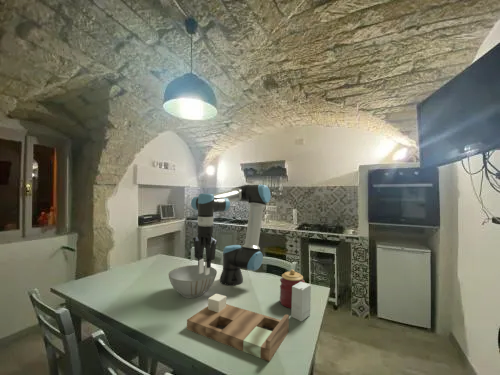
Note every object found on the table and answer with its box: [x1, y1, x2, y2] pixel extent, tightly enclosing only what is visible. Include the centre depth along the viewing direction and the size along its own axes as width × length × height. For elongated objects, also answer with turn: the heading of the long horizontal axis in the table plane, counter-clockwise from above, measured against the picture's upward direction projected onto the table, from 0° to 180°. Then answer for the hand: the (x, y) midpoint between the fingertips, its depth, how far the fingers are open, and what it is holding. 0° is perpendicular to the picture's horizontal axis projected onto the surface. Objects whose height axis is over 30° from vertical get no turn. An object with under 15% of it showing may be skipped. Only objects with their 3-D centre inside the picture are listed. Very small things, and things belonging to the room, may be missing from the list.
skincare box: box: [290, 282, 312, 322], centre depth 111 cm, size 8×6×15 cm
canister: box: [279, 269, 306, 309], centre depth 125 cm, size 13×13×18 cm
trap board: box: [186, 303, 290, 362], centre depth 99 cm, size 38×20×7 cm, turn 62°
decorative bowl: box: [168, 264, 218, 299], centre depth 134 cm, size 27×27×12 cm
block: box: [207, 293, 227, 313], centre depth 109 cm, size 6×6×5 cm
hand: (204, 273), depth 113 cm, fingers open, 3 cm apart
